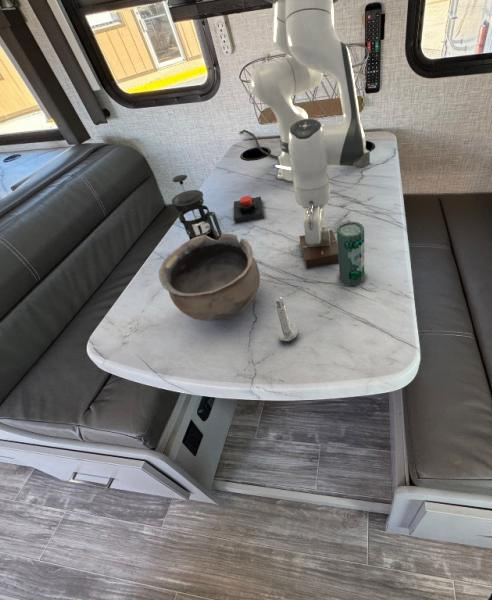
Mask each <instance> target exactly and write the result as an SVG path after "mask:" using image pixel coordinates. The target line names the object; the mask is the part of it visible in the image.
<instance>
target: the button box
mask: <svg viewBox="0 0 492 600" xmlns="http://www.w3.org/2000/svg"><path fill="white" fill-rule="evenodd" d="M251 199H252V204H250V205H247V206H242V205H241V202H240V199H239V200H235V201H233V220H234V223H235V224H241V223H248V222H253V221H258V220H262V219H265V213H264V208H263V201H262V196H256V197H251Z"/></svg>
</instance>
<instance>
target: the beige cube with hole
mask: <svg viewBox="0 0 492 600" xmlns="http://www.w3.org/2000/svg"><path fill="white" fill-rule="evenodd" d="M370 164H371V151H370V150H369V149H367V148H366V149H365V153H364V156H363V157H362V159H361V160H360V161H359V162H358V163H356V164H355V165H354V166H356V167H357V168H362V167H364V166H369V165H370Z"/></svg>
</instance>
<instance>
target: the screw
mask: <svg viewBox="0 0 492 600" xmlns="http://www.w3.org/2000/svg"><path fill="white" fill-rule="evenodd" d="M275 301H276V302H275V303H276V311H277V315H278V319H279V322H280V326H279V327H278V328H277V329H276V337H277V339H279V341H282V342H286V343H291V342H292V341H293V340H294V339H296V337H297V336H298V334H299V329H298V327H297V326H296V325H295V324H293V323H290V320H289V316H288V312H287V308H286V305H285V304H284V300H283V298H282V297H281V296H278V297H277V298H276V299H275Z"/></svg>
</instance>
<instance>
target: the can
mask: <svg viewBox="0 0 492 600" xmlns="http://www.w3.org/2000/svg"><path fill="white" fill-rule="evenodd" d="M336 240H337V243H338V258H339V262H338V270H339V271H338V273H339V280H340V282H341V283H343V284H344V285H347V286H355V285H357V284H358V285H359V284H360V283H362V282H363V280H364V279H365V226H364V225H363V224H362V223H360V222H358V221H347V222H346V221H345V222H342V224H339V225H338V227H337V228H336Z"/></svg>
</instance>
